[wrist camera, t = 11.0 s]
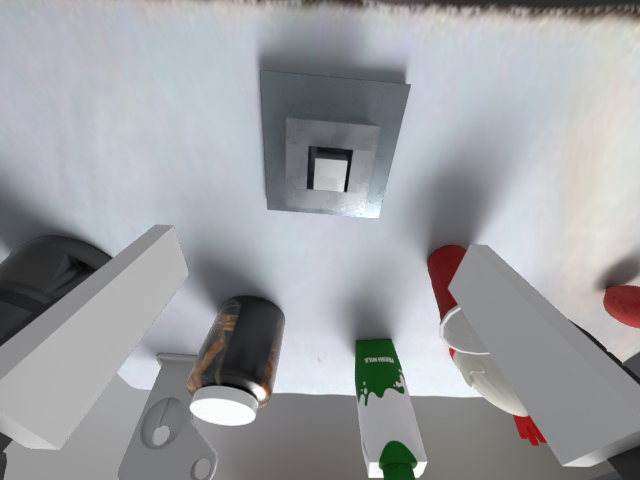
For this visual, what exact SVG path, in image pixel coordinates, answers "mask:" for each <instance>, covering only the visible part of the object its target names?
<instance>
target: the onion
mask: <svg viewBox="0 0 640 480" xmlns="http://www.w3.org/2000/svg"><path fill="white" fill-rule="evenodd" d="M603 303H604V307H605V310H606V311H607V312H608V313H609V314H610V315H611V316H612V317H614V318H615V319H617V320H618V321H620V322H621V323H623V324H626V325H628V326H631V327H635V328H640V287H638V286H630V285H624V286H615V287H609V288H607V289H606V293H605V296H604V301H603Z"/></svg>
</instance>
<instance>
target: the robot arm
mask: <svg viewBox="0 0 640 480" xmlns="http://www.w3.org/2000/svg"><path fill="white" fill-rule="evenodd" d="M188 275H189V271H188V268H187V265H186V262H185V259H184V256H183V253H182V249H181V246H180V243H179V240H178V237H177V234H176V231H175V228H174V226H171V225H155V226H153V227H152V228H151V229H149V230H148V231H147V232H146V233H144V234H143V235H142V236H141V237H139V238H138V239H137V240H136V241H134V242H133V243H132V244H130V245H129V246H128V247H127V248H125V249H124V250H123V251H122V252H120V253H119V254H118V255H116V256H115V257H114V258H113V259H111V258H110V257H108V256H107V255H106V254H104V253H103V252H101V251H99V250H97V249H96V248H94V247H92V246H90V245H87V244H85V243H83V242H80V241H77V240H74V239H70V238H66V237H60V236H42V237H38V238H35V239H33V240H31V241H29V242H27V243H25V244H23V245H21V246H19V247H18V248H16V249H15V250H14V251H13V252H12V253H11V254H10V255H9V256H8V257H7V258H6V259H5V260H4V261H3V262H2V263H1V264H0V480H3V478H4V474H5V469H6V464H7V460H6V453H4V452H2V451H3V450H4V449H5V448H6V447H7V446H8V445H9V444H10V442H11V441H12V440H14V441H16V442H18V443H20V444H21V445H24V446H25V447H27V448H32V449H61V447H62V446H63V445H64V443H65V442H66V441H67V439H68V438H69V437H70V435H71V434H72V432H73V431H74V430H75V428H76V427H77V426H78V424H79V423H80V422H81V420H82V419H83V418H84V416H85V415H86V413H87V412H88V411H89V409H90V408H91V407H92V405H93V404H94V403H95V401H96V400H97V399H98V397H99V395H101V393H102V392H103V390H104V389H105V388H106V386H107V385H108V384H109V382H110V381H111V380H112V378H113V377H114V375H115V374H116V373H117V371H118V370H119V369H120V367H121V366H122V365H123V363H124V362H125V361H126V359H127V358H128V357H129V355H130V354H131V352H132V351H133V350H134V348H135V347H136V346H137V344H138V343H139V342H140V340H141V339H142V338H143V336H144V335H145V333H146V332H147V331H148V329H149V328H150V327H151V325H152V324H153V323H154V321H155V320H156V319H157V317H158V316H159V314H160V313H161V312H162V310H163V309H164V308H165V306H166V305H167V304H168V302H169V301H170V300H171V298H172V297H173V295H174V294H175V293H176V291H177V290H178V289H179V287H180V286H181V285H182V283H183V282H184V281H185V279H186V278H187V276H188ZM448 290H449V291H450V293H451V294H452V296H453V297H454V299H455V300H456V302H457V304H458V305H459V307H460V308H461V310H462V311H463V313H464V314H465V316H466V318H467V319H468V321H469V322H470V324H471V325H472V327H473V328H474V330H475V331H476V333H477V335H478V336H479V338H480V339H481V341H482V342H483V344H484V345H485V347H486V349H487V350H488V352H489V353H490V355H491V356H492V358H493V359H494V361H495V363H496V364H497V366H498V367H499V369H500V370H501V372H502V373H503V375H504V377H505V378H506V380H507V381H508V383H509V384H510V386H511V387H512V389H513V390H514V392H515V394H516V395H517V397H518V398H519V400H520V401H521V403H522V404H523V406H524V408H525V409H526V411H527V412H528V414H529V415H530V417H531V418H532V420H533V422H534V423H535V425H536V426H537V428H538V429H539V431H540V432H541V434H542V435H543V437H544V439H545V440H546V442H547V443H548V445H549V446H550V448H551V449H552V451H553V452H554V454H555V456H556V457H557V459H558V460H559V462H560V463H561V465H562V466H580V467H590V466H592V465H595V464H597V463H600V462H602V461H605V460H608V461H609V462H610V463H611V464H612V466H613V467H614V468H615V470H614V471H611V472H608V473H605V474H603V475H600V476H597V477H595V478H593V479H591V480H640V378H639V377H638V376H636V375H635V374H634V373H633V372H632V371H631V370H630V369H628V368H627V367H626V366H623V365H622V362H621V361H620V360H619V359H617V358H616V357H615V356H614V355H613V354H612V353H611V352H607V349H606V348H605V347H604V346H603V345H602V344H601V343H600V342H599V341H597V340H596V339H595V338H594V337H593V336H592V335H591V334H590V333H588V332H587V331H585V330H584V329H582V328H581V327H579V326H578V325H576V324H575V323H573V322H572V321H570V320H569V319H567V318H566V317H565V316H564V315H563V314H562V313H561V312H559V311H558V310H557V309H556V308H555V307H554V306H553V305H552V304H551V303H550V302H549V301H548V300H546V299H545V298H544V297H543V296H542V295H541V294H540V293H539V292H538V291H537V290H536V289H534V288H533V287H532V286H531V285H530V284H529V283H528V282H527V281H526V280H525V279H524V278H522V277H521V276H520V275H519V274H518V273H517V272H516V271H515V270H514V269H513V268H512V267H510V266H509V265H508V264H507V263H506V262H505V261H504V260H503V259H502V258H501V257H500V256H499V255H497V254H496V253H495V252H494V251H493V250H492V249H491V248H490V247H489V246H488V245H478V244H470V246H469V248H468V250H467V252H466V254H465V256H464V258H463V260H462V261H461V263H460V265H459V267H458V269H457V271H456V273H455V275H454V277H453V279H452V281H451V283H450V285H449V287H448Z"/></svg>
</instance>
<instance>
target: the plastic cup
mask: <svg viewBox="0 0 640 480" xmlns="http://www.w3.org/2000/svg"><path fill="white" fill-rule="evenodd" d="M466 252H467V250H466V249H464V248H462V247H460V246H455V245H449V246H444V247H442V248H440V249H438V250H436V251H435V252H434V253H433V254H432V255H431V256H430V258H429V260H428V272H429V275H430V278H431V281H432V287H433V290H434V294H435V297H436V301H437V304H438V308H439V312H440V318H441V322H440V338H441V339H442V341H443V342H444V343H445V344H446V346H448V347H450V348H452V349H454V350H456V351H459V352H463V353H469V354H476V355H481V354H490V353H489V352H488V350H487V349H486V347H485V345H484V344H483V342H482V341H481V339H480V338H479V336H478V335H477V333H476V331H475V330H474V328H473V327H472V325H471V324H470V322H469V321H468V319H467V318H466V316H465V314H464V313H463V311H462V310H461V308H460V307H459V305H458V304H457V302H456V300H455V299H454V297H453V296H452V294H451V293H450V291H449V290H448V287H449V285H450V283H451V281H452V279H453V277H454V275H455V273H456V271H457V269H458V267H459V265H460V263H461V261H462V260H463V258H464V256H465V254H466Z"/></svg>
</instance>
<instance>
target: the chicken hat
mask: <svg viewBox="0 0 640 480" xmlns="http://www.w3.org/2000/svg"><path fill="white" fill-rule="evenodd" d="M449 351H450V355H451V357H452V359H453V362H454V363H455V365H456V366H457V368H458V369H459V371H460V372H461V373H462V375H463V377H464V379H465V381H466V383H467V384H468V385H469V386H470V387H472V386H473V387H474V388H475V389H476V390H477V391H478V392H479V393H480V394H481V395H482V396H483V397H484V398H486V399H487V400H488V401H490V402H491V403H492V404H494V405H495V406H497V407H499V408H501V409H502V410H505V411H507V412H509V413H511V414H513V416H514V420H515V422H516V426H517V429H518V432H519V435H520V437H521V439H527V438H528V439H529V441H530V442H531V444H532V445H535V446H539V444H538V441H537V439H536V437H537V438H538V440H539V441H540V442H541V443H547V442H546V440H545V439H544V437H543V435H542V434H541V432H540V431H539V429H538V428H537V426H536V425H535V423H534V422H533V420H532V418H531V417H530V415H529V414H528V412H527V411H526V409H525V408H524V406H523V404H522V403H521V401H520V400H519V398H518V397H517V395H516V394H515V392H514V390H513V389H512V387H511V386H510V384H509V383H508V381H507V380H506V378H505V377H504V375H503V373H502V372H501V370H500V369H499V367H498V366H497V364H496V363H495V361H494V359H493V358H492V356H491V355H490V354H481V355H476V354H469V353H463V352H459V351H456V350H454V349H452V348H450V349H449ZM535 436H536V437H535Z"/></svg>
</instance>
